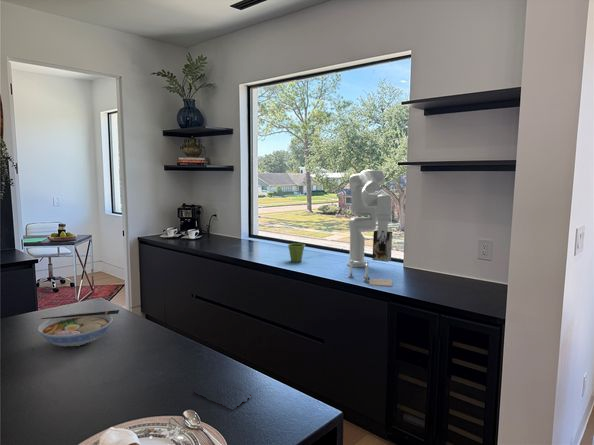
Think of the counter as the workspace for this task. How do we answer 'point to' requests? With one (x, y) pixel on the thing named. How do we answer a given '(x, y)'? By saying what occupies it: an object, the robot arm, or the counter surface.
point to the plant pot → (296, 252)
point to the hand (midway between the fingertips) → (382, 249)
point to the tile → (381, 282)
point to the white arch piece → (365, 270)
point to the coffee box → (385, 254)
